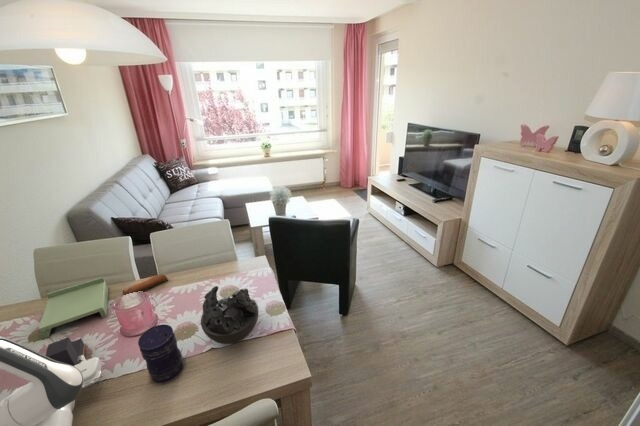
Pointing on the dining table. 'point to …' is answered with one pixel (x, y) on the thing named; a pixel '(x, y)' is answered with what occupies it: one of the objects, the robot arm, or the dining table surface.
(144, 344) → the storage jar
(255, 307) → the bowl of black rocks
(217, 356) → the dining table surface
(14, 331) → the dining table surface
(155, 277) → the brown rounded bar
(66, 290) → the sage green riser
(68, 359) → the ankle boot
